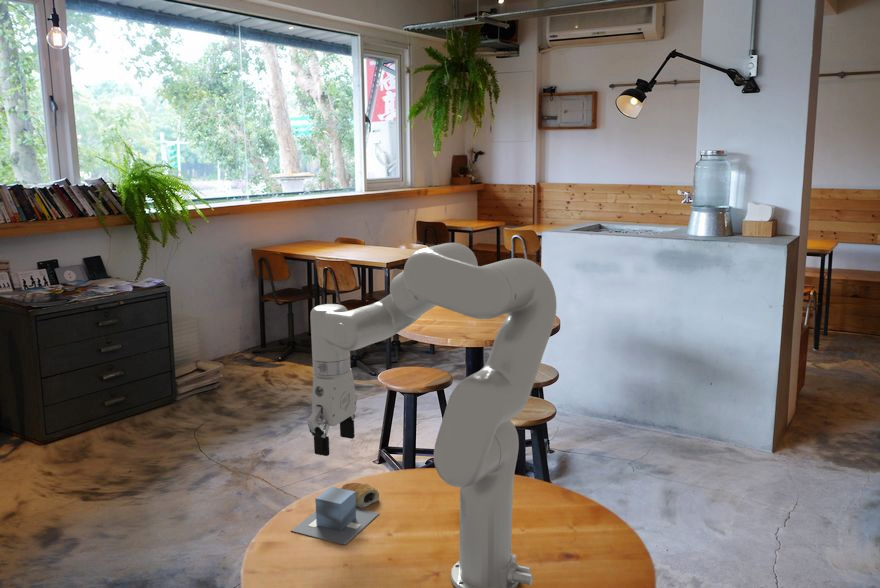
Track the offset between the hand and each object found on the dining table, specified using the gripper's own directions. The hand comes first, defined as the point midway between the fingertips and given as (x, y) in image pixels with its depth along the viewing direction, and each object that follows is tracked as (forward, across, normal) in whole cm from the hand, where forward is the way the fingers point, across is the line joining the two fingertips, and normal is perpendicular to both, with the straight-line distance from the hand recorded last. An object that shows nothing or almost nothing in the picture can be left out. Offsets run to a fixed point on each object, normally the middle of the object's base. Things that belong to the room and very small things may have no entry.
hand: (335, 445), depth 157 cm
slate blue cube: (+17, 0, +1) cm, 17 cm away
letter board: (+17, 0, +1) cm, 17 cm away
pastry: (+18, +11, +2) cm, 21 cm away
